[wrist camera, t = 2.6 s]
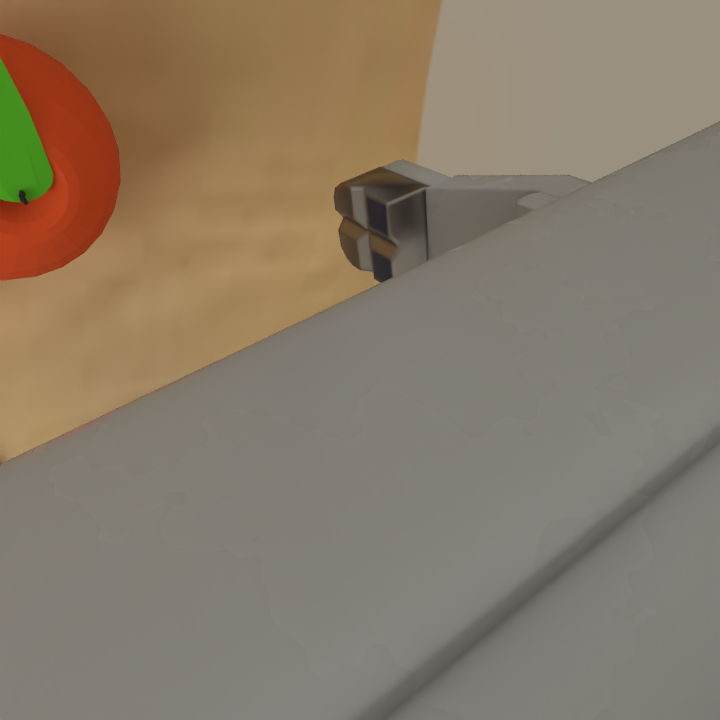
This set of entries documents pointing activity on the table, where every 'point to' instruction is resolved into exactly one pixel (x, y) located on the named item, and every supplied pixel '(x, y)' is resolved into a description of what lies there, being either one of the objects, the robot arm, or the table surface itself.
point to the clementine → (50, 163)
